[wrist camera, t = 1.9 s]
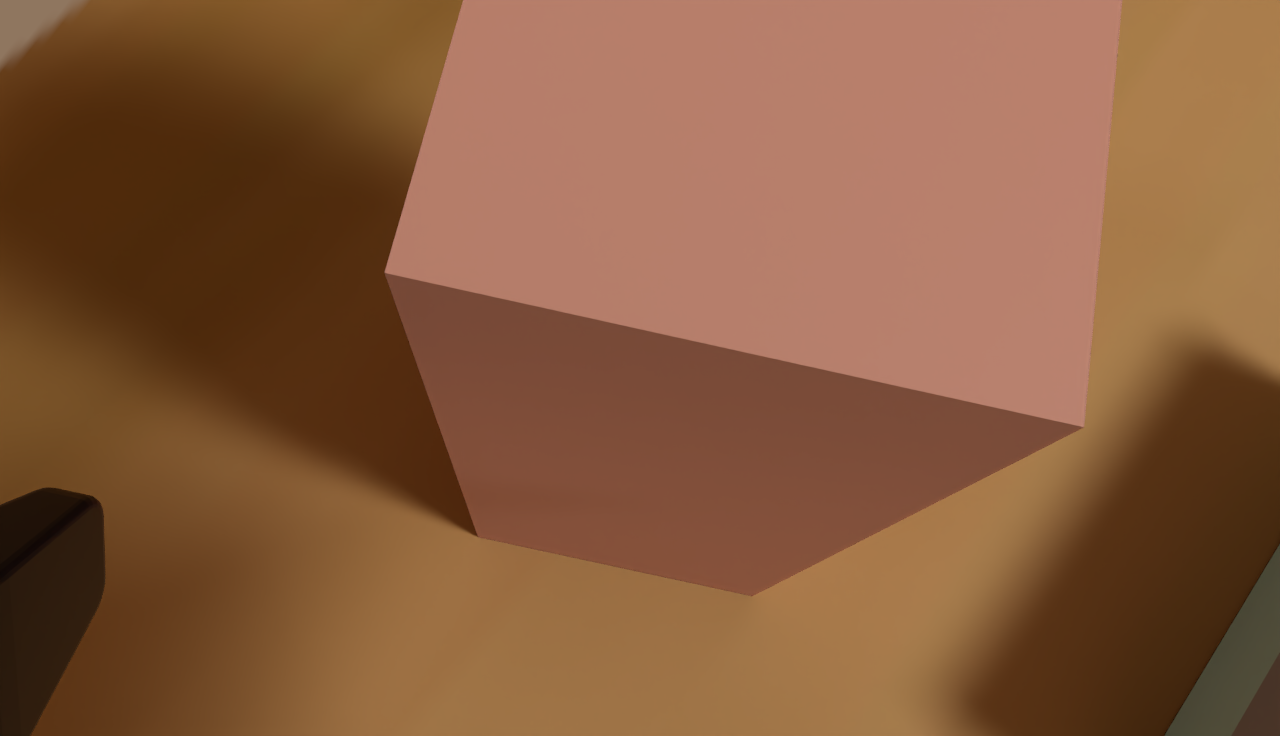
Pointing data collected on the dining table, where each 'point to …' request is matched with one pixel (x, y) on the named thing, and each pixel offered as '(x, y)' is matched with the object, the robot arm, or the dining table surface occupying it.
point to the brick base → (1241, 671)
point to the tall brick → (752, 266)
